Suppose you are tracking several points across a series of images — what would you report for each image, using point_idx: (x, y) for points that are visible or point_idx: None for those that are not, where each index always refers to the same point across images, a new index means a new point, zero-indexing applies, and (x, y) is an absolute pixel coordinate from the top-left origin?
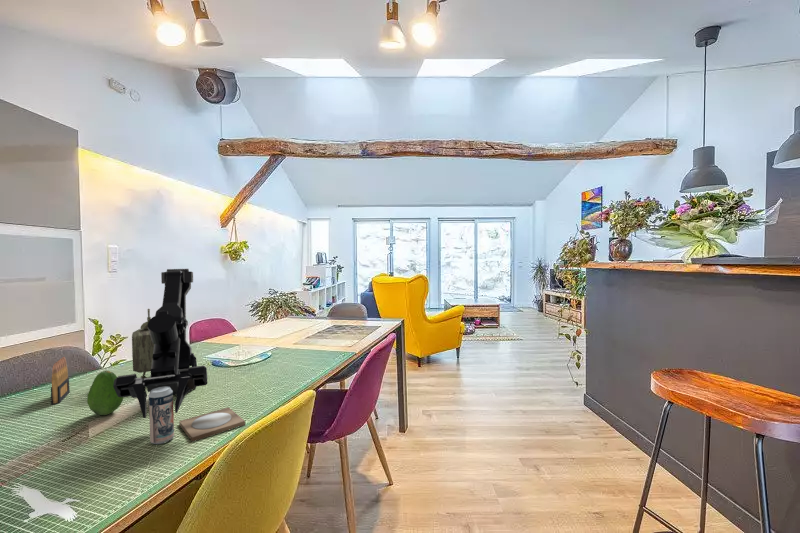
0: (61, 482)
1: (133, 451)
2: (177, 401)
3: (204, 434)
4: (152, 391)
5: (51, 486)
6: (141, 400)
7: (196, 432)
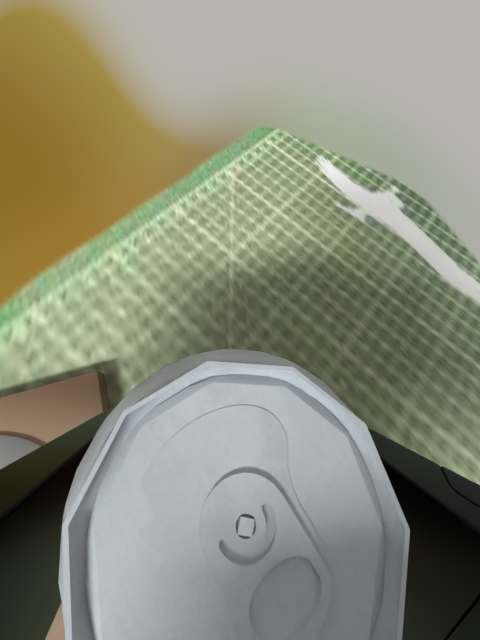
0: (417, 292)
1: None
2: (75, 438)
3: (44, 387)
4: (365, 492)
5: (428, 284)
6: (419, 467)
7: (71, 418)
